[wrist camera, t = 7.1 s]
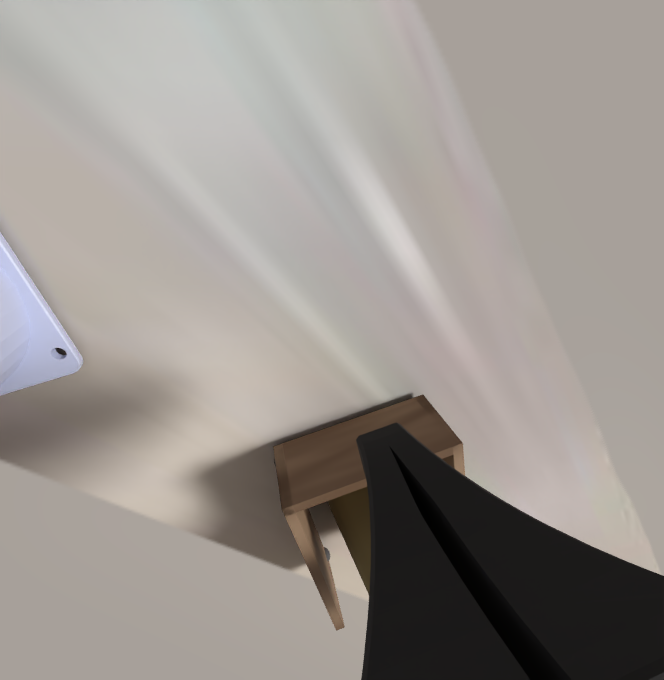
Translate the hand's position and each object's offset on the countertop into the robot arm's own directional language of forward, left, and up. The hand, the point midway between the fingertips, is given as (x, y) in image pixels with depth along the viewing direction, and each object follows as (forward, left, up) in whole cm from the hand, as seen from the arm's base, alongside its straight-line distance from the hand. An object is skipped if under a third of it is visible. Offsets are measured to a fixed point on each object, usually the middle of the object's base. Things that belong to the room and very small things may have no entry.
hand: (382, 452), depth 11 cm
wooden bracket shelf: (+10, 0, -8) cm, 13 cm away
